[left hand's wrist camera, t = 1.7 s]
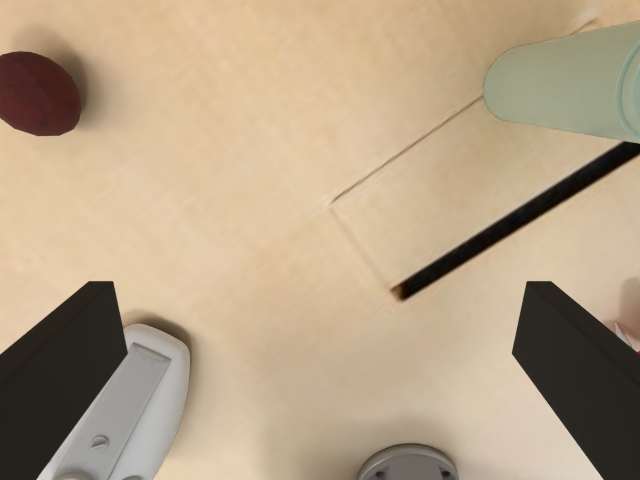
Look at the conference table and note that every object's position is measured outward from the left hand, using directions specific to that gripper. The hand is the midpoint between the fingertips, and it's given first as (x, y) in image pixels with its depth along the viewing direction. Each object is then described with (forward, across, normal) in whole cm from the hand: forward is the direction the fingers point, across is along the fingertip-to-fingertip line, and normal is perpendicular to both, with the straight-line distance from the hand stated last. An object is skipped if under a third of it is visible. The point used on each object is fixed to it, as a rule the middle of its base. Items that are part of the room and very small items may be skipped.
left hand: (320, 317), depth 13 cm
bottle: (+32, -20, -7) cm, 39 cm away
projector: (+32, +26, +31) cm, 52 cm away
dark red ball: (+32, +27, -6) cm, 43 cm away
